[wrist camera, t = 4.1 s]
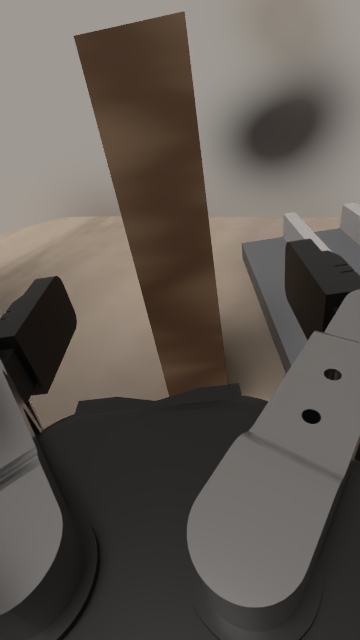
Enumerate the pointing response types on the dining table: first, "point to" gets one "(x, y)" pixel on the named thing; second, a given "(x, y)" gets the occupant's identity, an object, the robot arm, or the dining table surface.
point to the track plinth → (269, 273)
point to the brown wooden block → (160, 187)
